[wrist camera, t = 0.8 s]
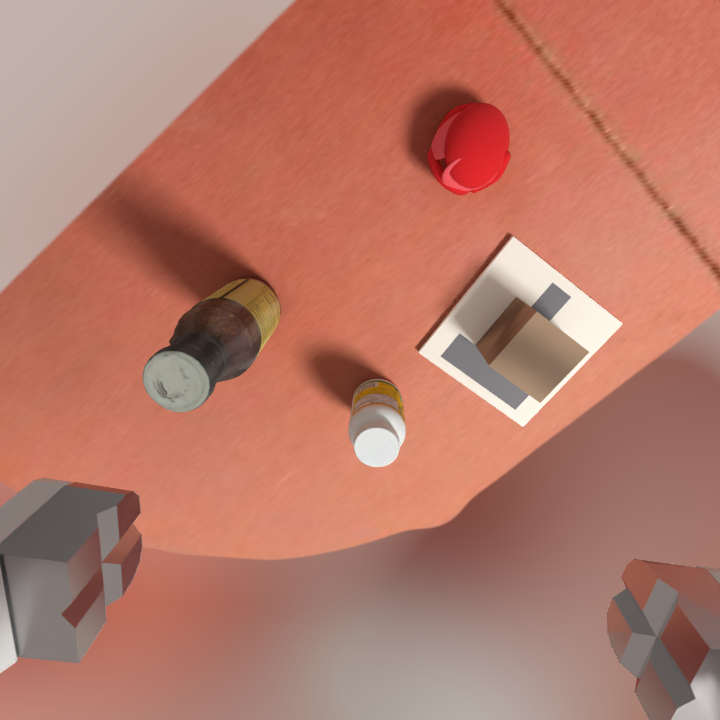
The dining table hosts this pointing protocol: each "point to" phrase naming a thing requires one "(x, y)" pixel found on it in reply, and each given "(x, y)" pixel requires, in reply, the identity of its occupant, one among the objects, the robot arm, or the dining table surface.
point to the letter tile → (489, 300)
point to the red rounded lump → (470, 148)
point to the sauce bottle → (212, 344)
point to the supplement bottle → (377, 422)
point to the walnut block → (529, 350)
